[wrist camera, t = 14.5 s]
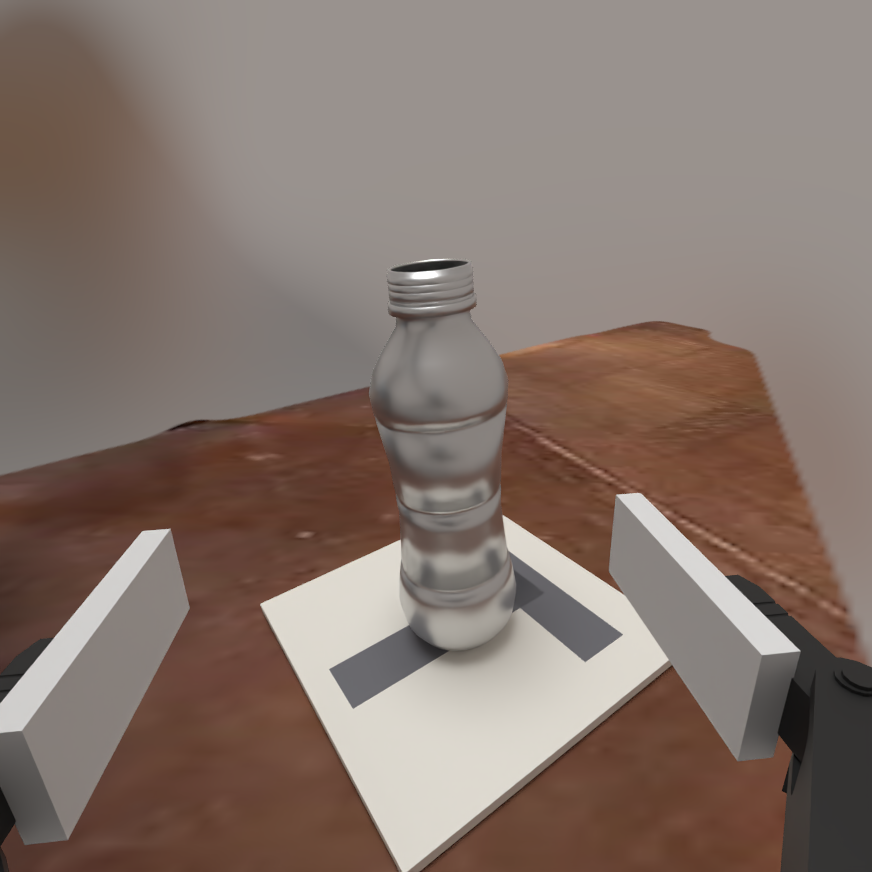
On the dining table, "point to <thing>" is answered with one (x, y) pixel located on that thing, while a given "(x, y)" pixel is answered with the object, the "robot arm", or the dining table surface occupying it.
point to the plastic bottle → (445, 455)
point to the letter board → (459, 688)
